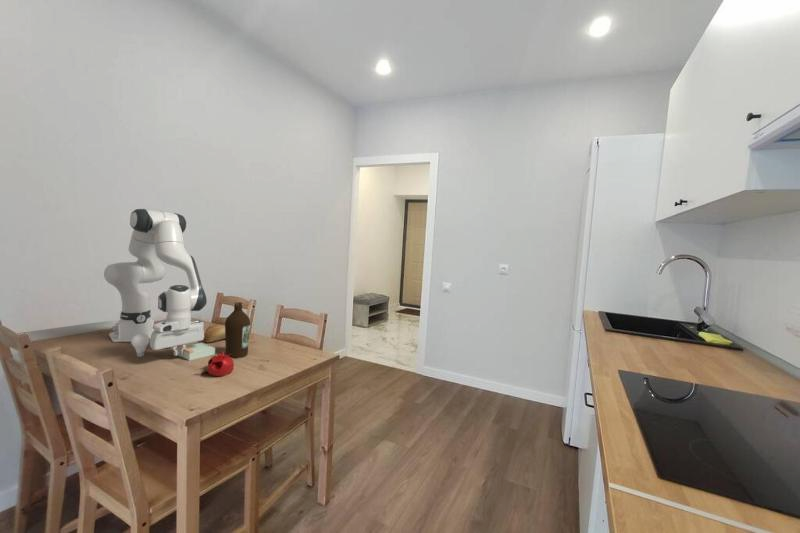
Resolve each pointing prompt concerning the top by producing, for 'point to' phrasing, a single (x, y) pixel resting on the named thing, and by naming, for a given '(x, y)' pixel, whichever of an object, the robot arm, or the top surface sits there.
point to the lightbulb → (140, 343)
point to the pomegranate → (220, 365)
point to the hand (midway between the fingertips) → (178, 354)
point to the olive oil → (237, 332)
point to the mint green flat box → (196, 351)
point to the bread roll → (214, 333)
